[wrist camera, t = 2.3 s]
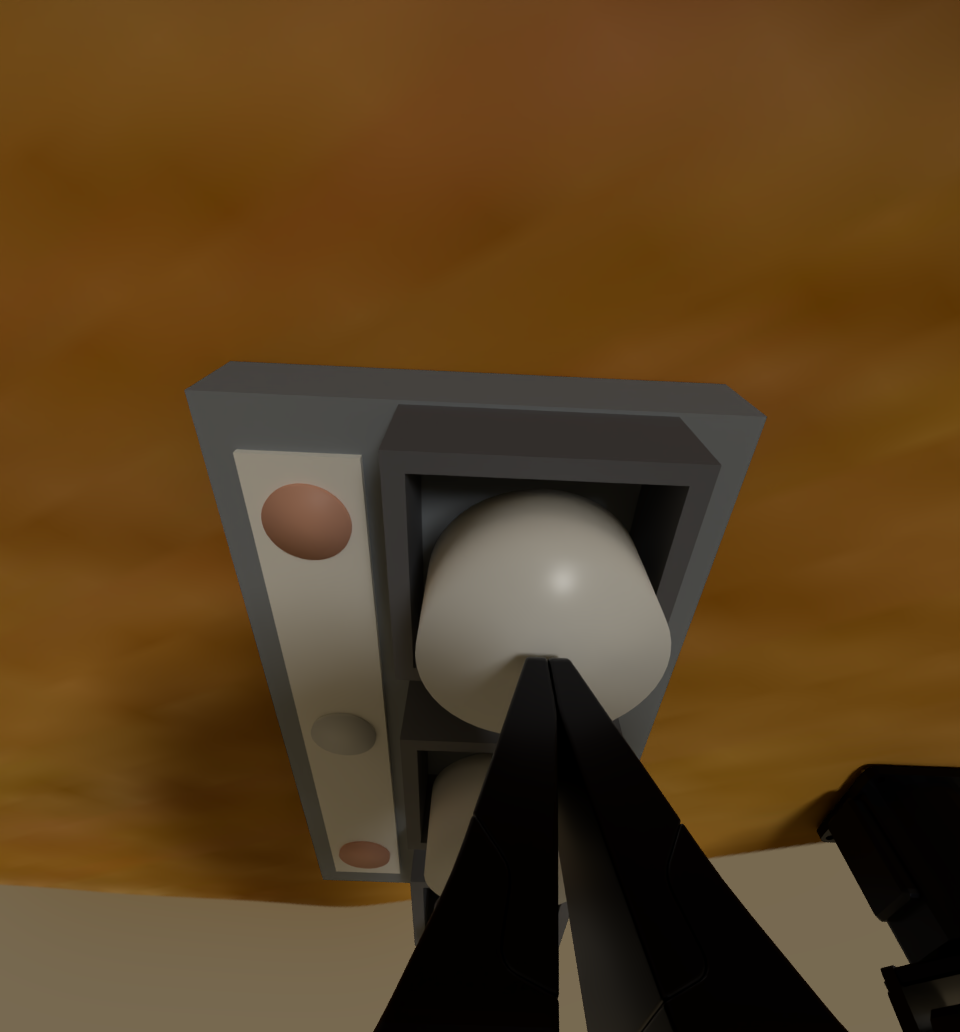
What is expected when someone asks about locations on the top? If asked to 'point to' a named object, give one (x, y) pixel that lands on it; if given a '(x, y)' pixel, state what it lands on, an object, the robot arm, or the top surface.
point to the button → (537, 605)
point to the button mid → (457, 818)
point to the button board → (410, 541)
